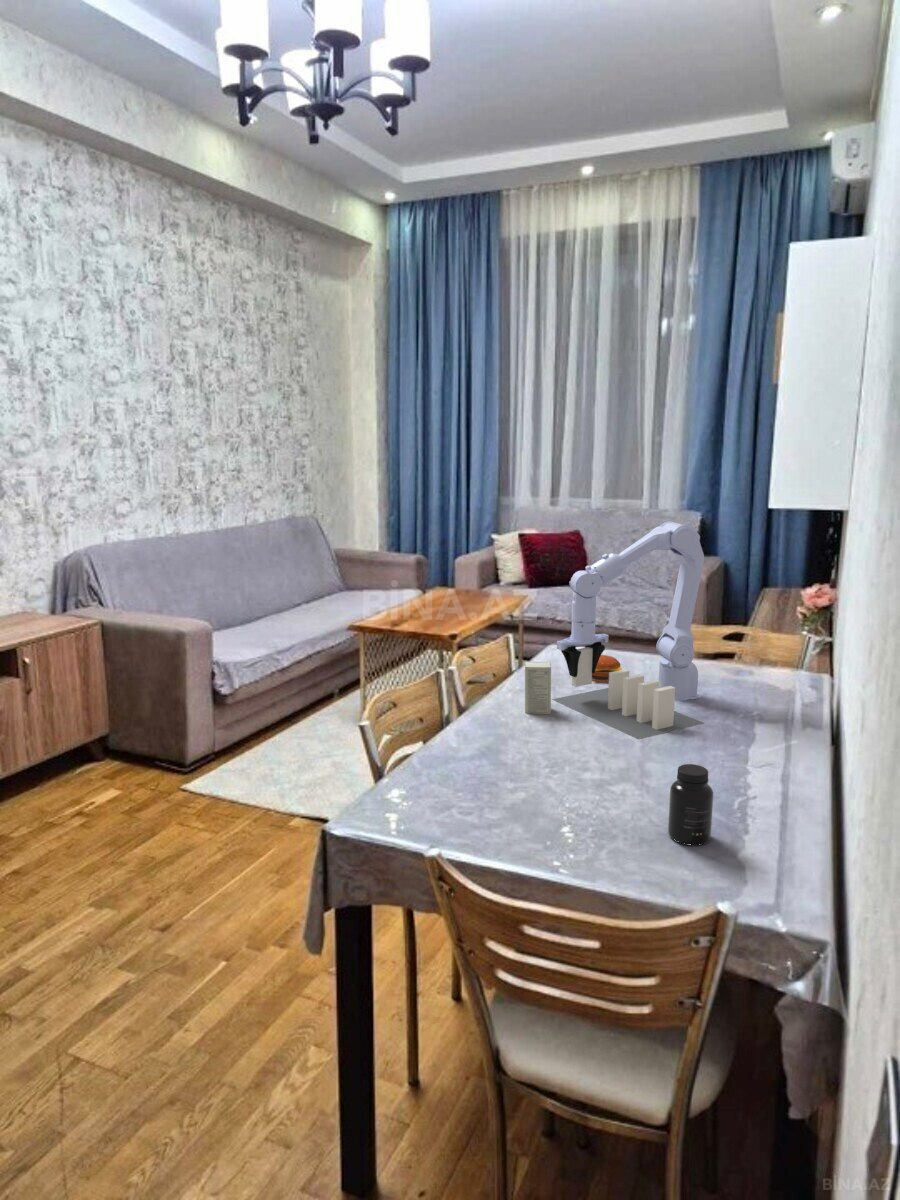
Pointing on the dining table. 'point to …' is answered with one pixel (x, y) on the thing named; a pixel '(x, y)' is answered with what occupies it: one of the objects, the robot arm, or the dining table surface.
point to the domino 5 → (663, 707)
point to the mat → (620, 715)
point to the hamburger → (605, 668)
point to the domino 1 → (584, 668)
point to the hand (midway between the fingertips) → (582, 674)
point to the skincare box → (538, 687)
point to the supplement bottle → (691, 806)
